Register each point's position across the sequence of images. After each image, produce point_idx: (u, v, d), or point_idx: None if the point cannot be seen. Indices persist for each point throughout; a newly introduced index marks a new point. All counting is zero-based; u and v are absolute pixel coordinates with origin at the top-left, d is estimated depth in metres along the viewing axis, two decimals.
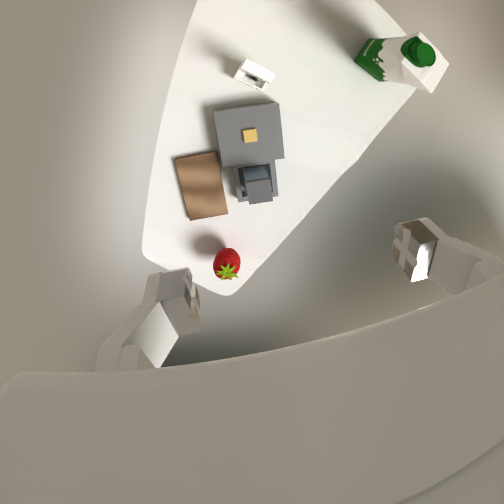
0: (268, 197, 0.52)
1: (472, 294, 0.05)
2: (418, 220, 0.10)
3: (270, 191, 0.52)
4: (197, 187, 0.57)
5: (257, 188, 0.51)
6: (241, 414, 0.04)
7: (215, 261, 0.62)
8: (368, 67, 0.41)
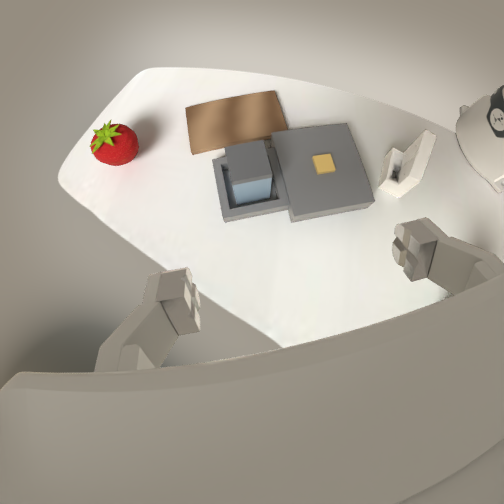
0: (237, 174, 0.30)
1: (472, 294, 0.05)
2: (418, 220, 0.10)
3: (249, 176, 0.30)
4: (235, 113, 0.39)
5: (254, 155, 0.30)
6: (241, 414, 0.04)
7: None
8: None
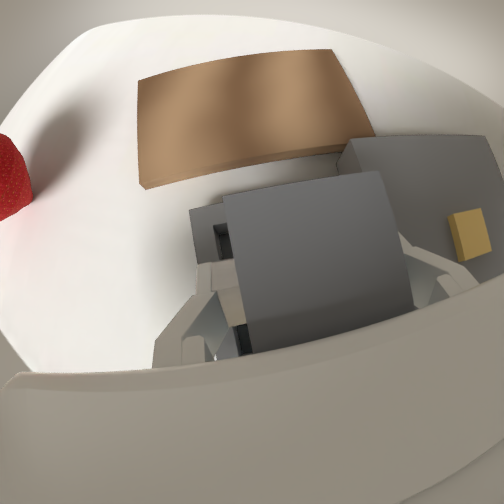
0: (284, 335, 0.07)
1: (472, 294, 0.05)
2: None
3: None
4: (248, 87, 0.16)
5: (351, 242, 0.07)
6: (241, 414, 0.04)
7: None
8: None
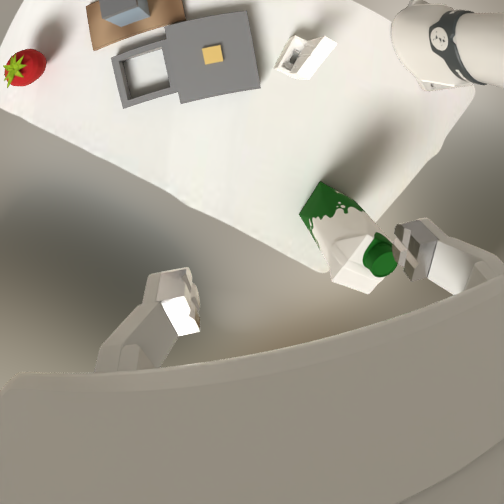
0: (107, 11, 0.20)
1: (472, 294, 0.05)
2: (418, 220, 0.10)
3: (116, 10, 0.20)
4: None
5: None
6: (241, 414, 0.04)
7: (28, 49, 0.21)
8: (323, 197, 0.43)
